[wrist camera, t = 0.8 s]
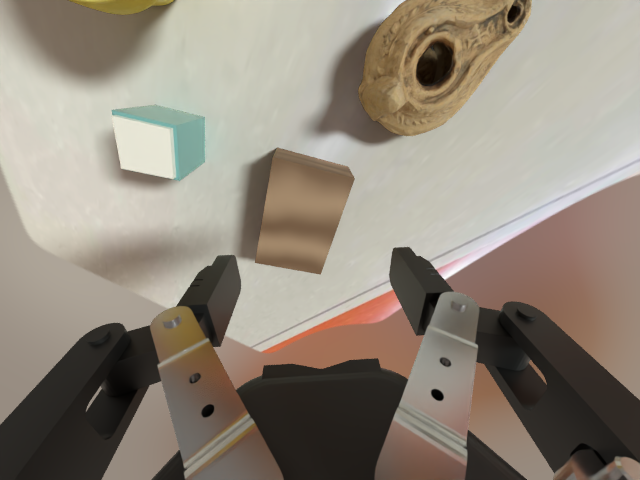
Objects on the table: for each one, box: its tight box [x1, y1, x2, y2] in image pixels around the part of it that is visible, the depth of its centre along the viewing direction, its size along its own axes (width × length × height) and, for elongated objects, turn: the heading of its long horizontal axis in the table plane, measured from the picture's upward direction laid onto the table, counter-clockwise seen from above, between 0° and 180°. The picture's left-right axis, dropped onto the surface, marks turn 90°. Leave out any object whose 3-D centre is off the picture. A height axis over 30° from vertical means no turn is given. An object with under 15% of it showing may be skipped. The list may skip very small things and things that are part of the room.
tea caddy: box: [112, 105, 205, 181], centre depth 24 cm, size 5×5×8 cm
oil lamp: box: [358, 0, 532, 136], centre depth 22 cm, size 11×15×8 cm
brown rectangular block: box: [255, 148, 355, 274], centre depth 31 cm, size 14×9×5 cm, turn 165°
